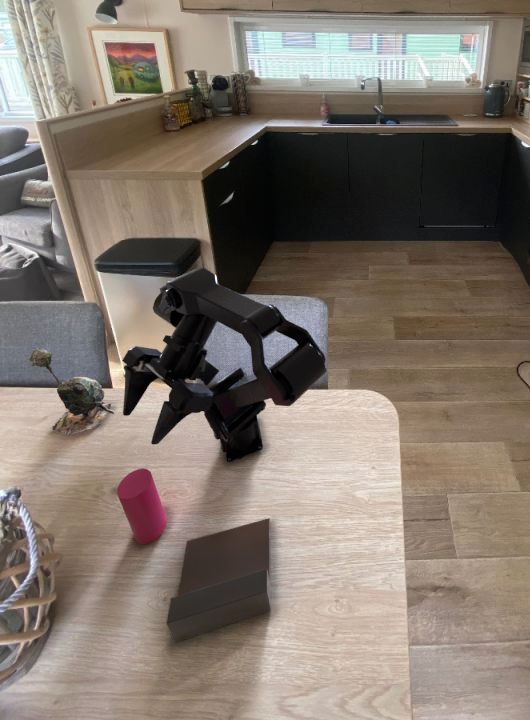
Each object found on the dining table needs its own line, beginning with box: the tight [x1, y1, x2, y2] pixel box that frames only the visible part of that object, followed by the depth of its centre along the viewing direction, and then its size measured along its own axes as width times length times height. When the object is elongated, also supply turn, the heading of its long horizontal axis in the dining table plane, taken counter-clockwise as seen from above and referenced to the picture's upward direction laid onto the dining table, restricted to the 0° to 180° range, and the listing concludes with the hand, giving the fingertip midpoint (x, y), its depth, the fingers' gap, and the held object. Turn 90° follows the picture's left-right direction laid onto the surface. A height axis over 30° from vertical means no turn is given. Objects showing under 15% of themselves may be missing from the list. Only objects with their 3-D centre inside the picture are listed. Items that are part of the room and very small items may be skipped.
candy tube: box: [116, 468, 168, 545], centre depth 59 cm, size 4×4×11 cm
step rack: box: [165, 517, 272, 643], centre depth 55 cm, size 10×12×5 cm
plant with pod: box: [28, 347, 116, 436], centre depth 75 cm, size 8×11×20 cm
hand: (139, 429), depth 64 cm, fingers open, 9 cm apart
